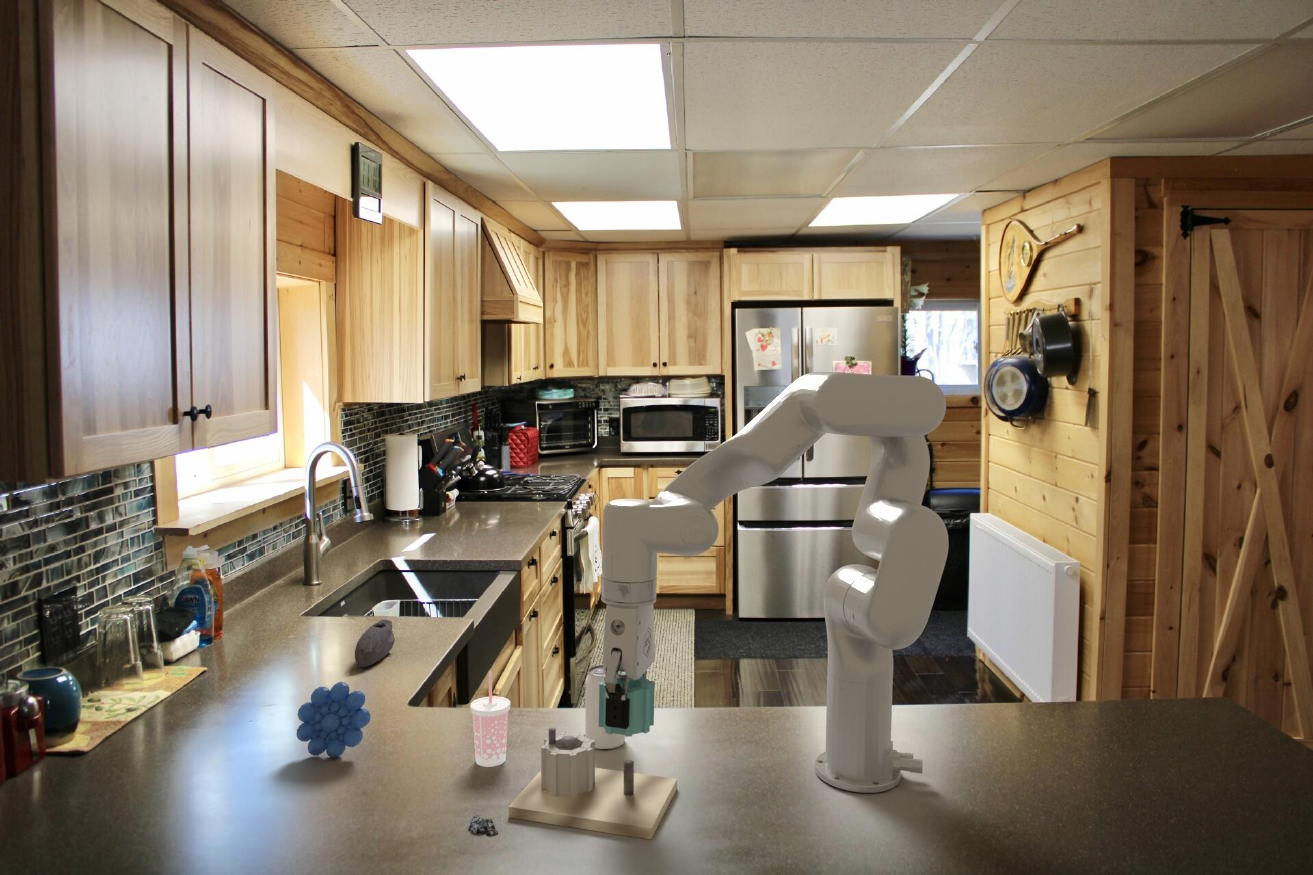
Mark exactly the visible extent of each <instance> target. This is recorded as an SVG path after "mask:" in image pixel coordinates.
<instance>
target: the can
mask: <svg viewBox="0 0 1313 875" xmlns="http://www.w3.org/2000/svg"><path fill="white" fill-rule="evenodd" d="M587 671H588V674H587V676H586V678H585V697H584V698H585V703H584V704H585V708H584V709H585V713H584V714H585V718H584V722H585V723H584V724H585V726H584V727H585V737H586V738H588V739H590V740H592V739H594V741H595V748H596V749H595V750H599V749H610V750H615V749H617V748H616V747H618V748H619V747H621V746H622V745H623V744H624V743H625V742H626V741H625V740H626V737H625V735H621V734H614V733H613V734H611V735H610V734H607V733H606V729H604V728H603V727H599V725H598V723H599V682H604V677H605V674H604V672H603V664H597V665H593V666H592V667H590V668H589V669H588V670H587ZM621 673H623V672H622V671H619V672H618V675H621ZM614 748H615V749H614Z"/></svg>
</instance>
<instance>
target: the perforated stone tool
mask: <svg viewBox="0 0 1313 875" xmlns="http://www.w3.org/2000/svg"><path fill="white" fill-rule="evenodd" d="M395 638H396V637H395V634H394V632H393V622H392V621H391V620H389V619H381V620H379V621H378V622H375V623H374V624H373V625H371V626H369V627H368V628H367V629H366V630H365V632H364V633H363V634H362V635H361V636H360V638H359V639H358V640H357V643H356V646H355V649H354V660H355V663H356V665H357V666H358V667H360V668H367V667H370V666H372V665H374V664H376V663H378V662H379V661H380V660H382V659H383V658H385V657H386V656H387V655H388V654H389V652H390V651H391V650H392V649H393V647H394V645H395V641H396V640H395Z"/></svg>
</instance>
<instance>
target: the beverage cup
mask: <svg viewBox="0 0 1313 875" xmlns="http://www.w3.org/2000/svg"><path fill="white" fill-rule="evenodd" d="M510 710H511V700H509V698H507V697H503V696H497V695H495V696H493V671H492V670H491V671H490V670H489V671H488V696H483V697H480V698H479V697H478V698H477V699H475V700H473V701H472V702H470V712H471V714H472V727H473V739H474V742H473V743H474V753H475V754H474V756H475V763H476V764H477V765H478V766H480V767H486V768H489V767H490V768H491V767H496V766H497V767H498V766H500V765H502V764H504V763H505V762H506V758H507V741H508V725H509V724H508V723H509V711H510Z"/></svg>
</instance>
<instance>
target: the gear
mask: <svg viewBox="0 0 1313 875" xmlns="http://www.w3.org/2000/svg"><path fill="white" fill-rule="evenodd" d="M556 731H557V730H556V727H550V728H548V736H547V737H545V738H544V740H543V742H544V743H543V745H541V746H540V770H541V788H542V790H545V789H546V790H548V791H549V792H550V796H554V797H556V796H558V795H559V796H570V798H573V797H577V795H578V794H580V793H583V792H590V791H591V790H593V783H595V768H596V749H595V741H594V739H592V740H590V739H588V738H586V736H585V734H584V733H578V734H572V733H569V734H568V733H567V732H560V733H559V734H558V735H556V734H557V732H556Z"/></svg>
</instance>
